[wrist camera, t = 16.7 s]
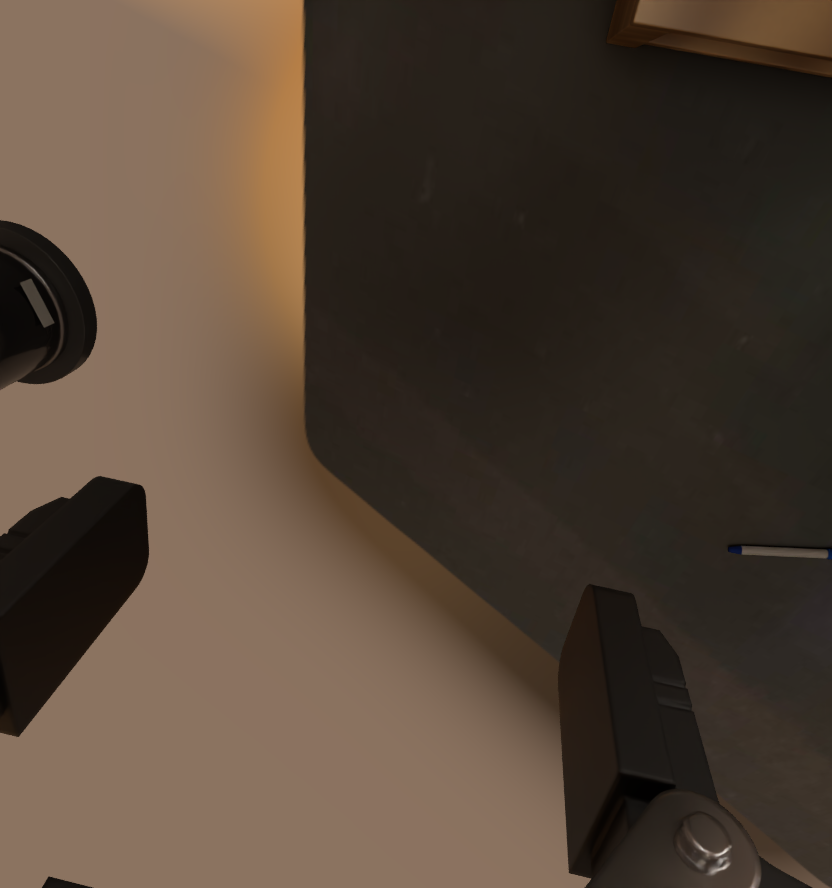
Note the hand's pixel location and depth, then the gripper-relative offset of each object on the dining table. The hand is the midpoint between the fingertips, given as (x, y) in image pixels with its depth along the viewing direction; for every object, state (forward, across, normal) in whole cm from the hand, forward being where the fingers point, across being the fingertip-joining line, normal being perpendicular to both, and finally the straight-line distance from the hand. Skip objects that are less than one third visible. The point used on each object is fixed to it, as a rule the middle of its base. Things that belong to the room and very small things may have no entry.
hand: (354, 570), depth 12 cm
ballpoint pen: (+32, -28, +17) cm, 46 cm away
